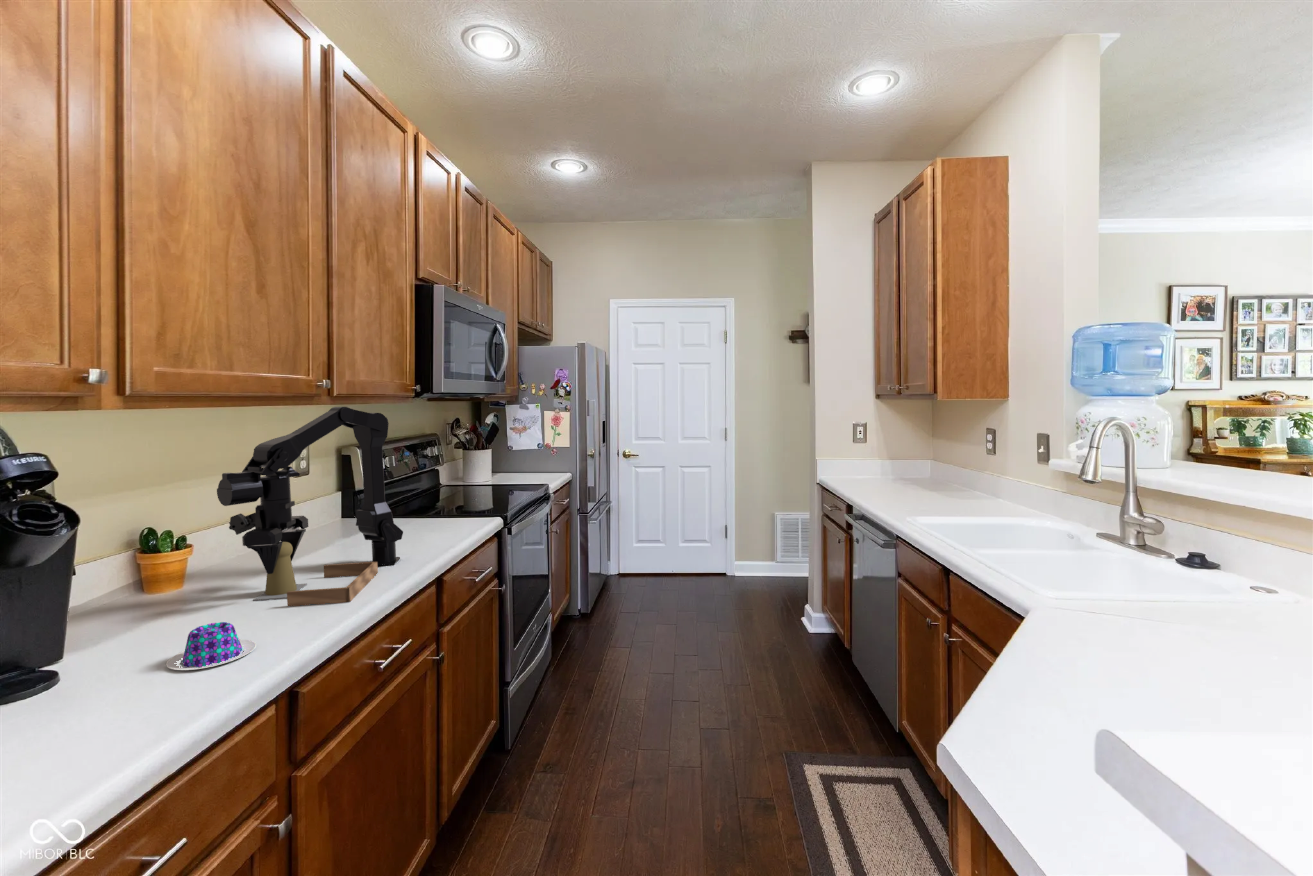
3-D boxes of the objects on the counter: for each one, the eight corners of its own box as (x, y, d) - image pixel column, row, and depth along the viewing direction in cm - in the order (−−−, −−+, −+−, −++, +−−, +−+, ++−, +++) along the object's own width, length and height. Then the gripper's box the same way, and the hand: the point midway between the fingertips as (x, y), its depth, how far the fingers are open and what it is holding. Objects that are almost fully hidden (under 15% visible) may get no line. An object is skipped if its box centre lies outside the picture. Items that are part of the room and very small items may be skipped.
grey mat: (274, 586, 136) (273, 585, 136) (307, 584, 137) (307, 583, 137) (253, 601, 126) (253, 599, 126) (288, 598, 128) (288, 597, 128)
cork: (303, 587, 135) (300, 539, 134) (284, 595, 129) (281, 546, 128) (278, 586, 135) (276, 539, 135) (258, 595, 129) (255, 545, 129)
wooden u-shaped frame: (325, 576, 144) (324, 564, 143) (377, 573, 146) (377, 561, 146) (287, 606, 122) (286, 592, 122) (349, 602, 125) (349, 588, 124)
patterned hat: (255, 638, 107) (254, 609, 106) (257, 661, 97) (255, 630, 96) (170, 655, 100) (168, 625, 99) (162, 682, 90) (160, 648, 90)
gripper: (255, 494, 138) (259, 559, 139) (211, 507, 120) (216, 582, 121) (307, 492, 140) (310, 556, 141) (272, 505, 122) (276, 579, 123)
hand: (279, 567), depth 132 cm, fingers open, 9 cm apart
